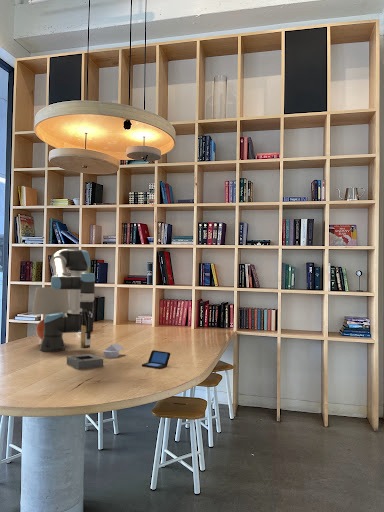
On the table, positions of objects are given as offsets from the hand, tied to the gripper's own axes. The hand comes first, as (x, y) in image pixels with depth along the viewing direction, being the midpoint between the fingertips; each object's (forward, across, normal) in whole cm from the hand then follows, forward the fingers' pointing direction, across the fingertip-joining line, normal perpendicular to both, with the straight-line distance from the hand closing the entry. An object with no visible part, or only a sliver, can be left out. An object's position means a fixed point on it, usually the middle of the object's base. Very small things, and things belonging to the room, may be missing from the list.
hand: (85, 344), depth 226 cm
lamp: (+11, -74, +7) cm, 75 cm away
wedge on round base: (+11, -16, +25) cm, 32 cm away
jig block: (+11, 0, 0) cm, 11 cm away
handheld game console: (+12, +22, +32) cm, 40 cm away
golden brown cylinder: (+2, 0, 0) cm, 2 cm away
